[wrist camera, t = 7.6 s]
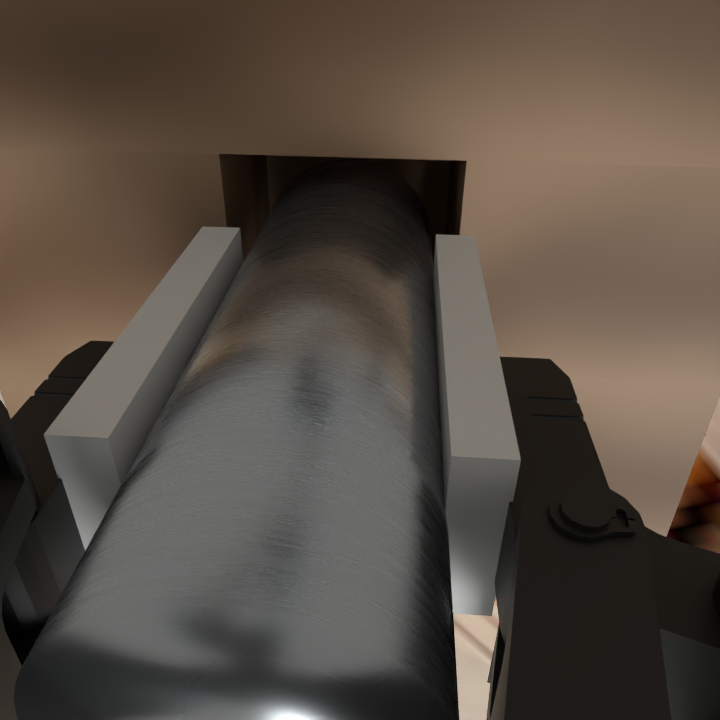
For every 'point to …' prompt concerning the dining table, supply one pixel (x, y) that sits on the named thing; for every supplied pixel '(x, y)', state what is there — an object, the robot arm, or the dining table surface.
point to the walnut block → (402, 156)
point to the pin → (280, 495)
